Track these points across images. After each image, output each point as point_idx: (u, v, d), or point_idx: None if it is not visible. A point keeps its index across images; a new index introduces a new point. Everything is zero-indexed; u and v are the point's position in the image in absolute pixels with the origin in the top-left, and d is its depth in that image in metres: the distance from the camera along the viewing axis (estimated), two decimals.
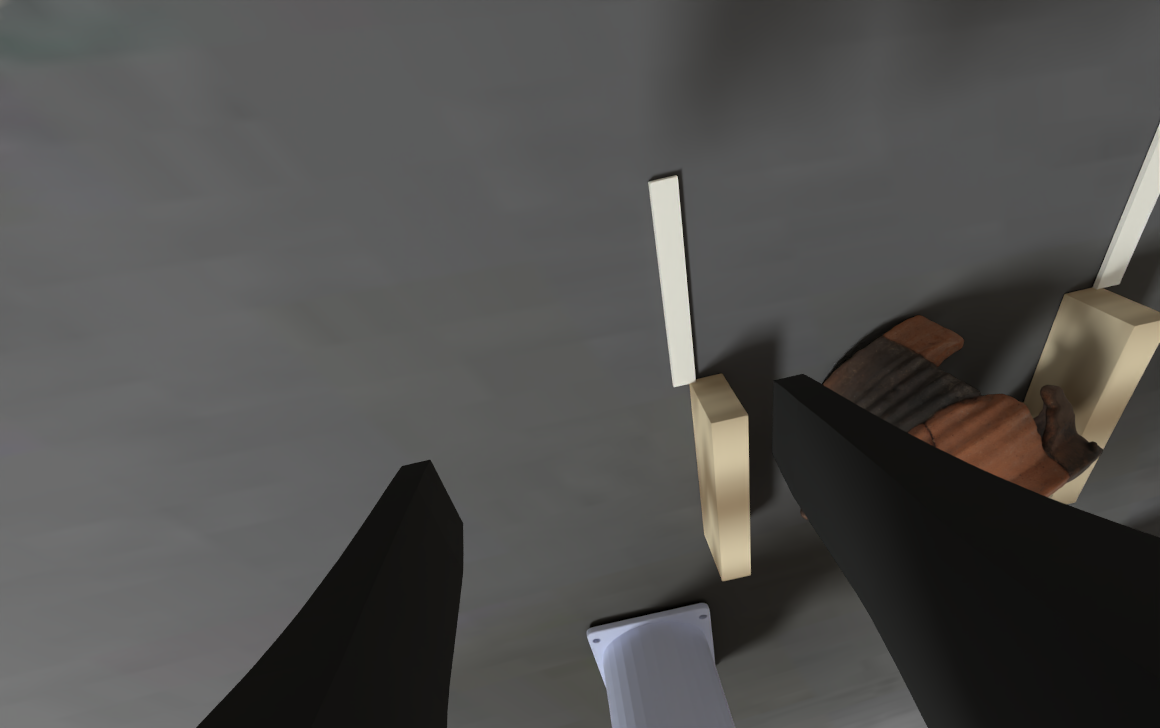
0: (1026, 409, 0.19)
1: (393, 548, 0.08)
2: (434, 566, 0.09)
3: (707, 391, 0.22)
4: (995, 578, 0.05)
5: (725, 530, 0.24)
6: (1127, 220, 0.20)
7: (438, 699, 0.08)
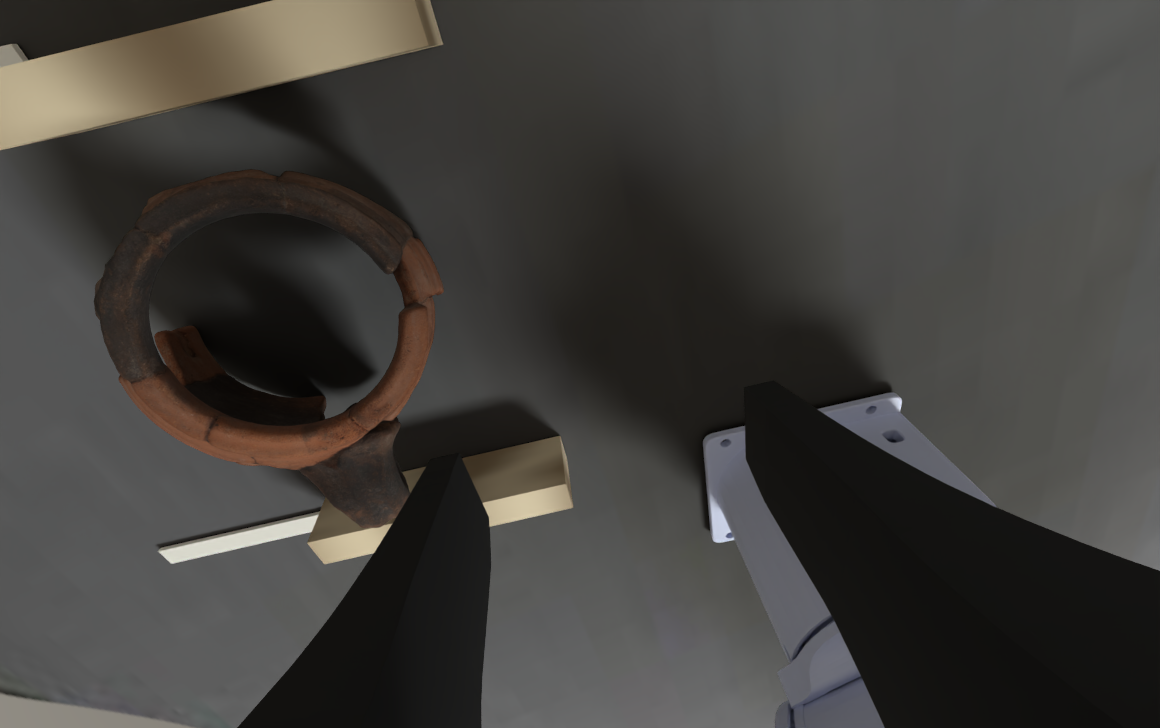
0: (120, 382, 0.14)
1: (430, 539, 0.08)
2: (466, 559, 0.09)
3: None
4: (940, 591, 0.05)
5: None
6: None
7: (472, 691, 0.08)
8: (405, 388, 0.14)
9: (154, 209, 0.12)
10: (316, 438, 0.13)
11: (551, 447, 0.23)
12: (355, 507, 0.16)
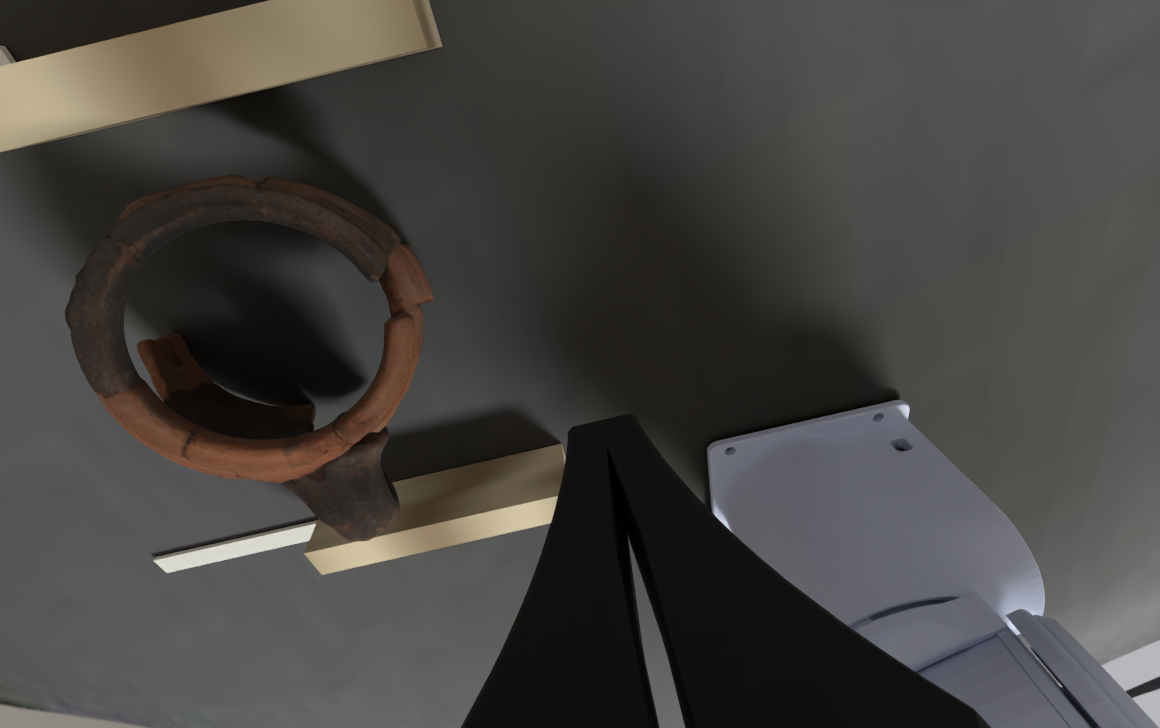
0: (97, 394, 0.13)
1: None
2: (621, 524, 0.09)
3: None
4: (673, 651, 0.05)
5: (477, 534, 0.21)
6: None
7: (642, 654, 0.08)
8: (391, 400, 0.14)
9: (127, 217, 0.11)
10: (298, 452, 0.13)
11: (553, 455, 0.22)
12: (342, 521, 0.16)
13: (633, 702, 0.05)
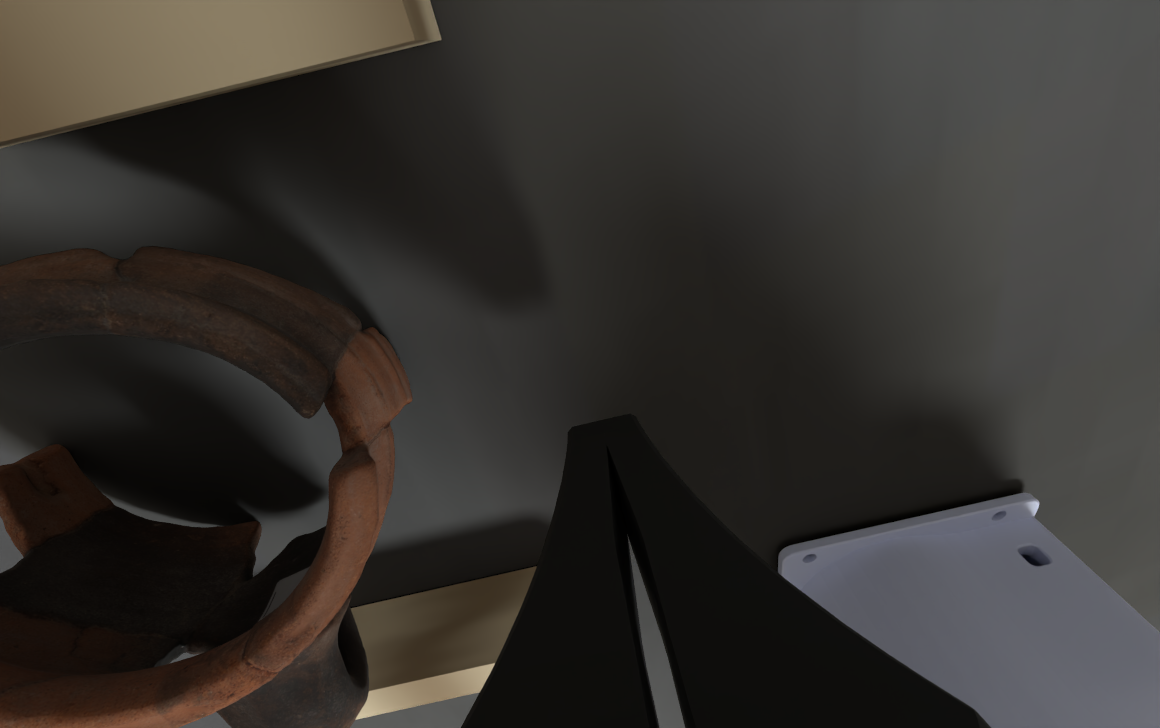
0: None
1: None
2: (621, 524, 0.09)
3: None
4: (673, 650, 0.05)
5: None
6: None
7: (642, 654, 0.08)
8: (340, 596, 0.09)
9: None
10: (183, 705, 0.08)
11: None
12: None
13: (633, 702, 0.05)
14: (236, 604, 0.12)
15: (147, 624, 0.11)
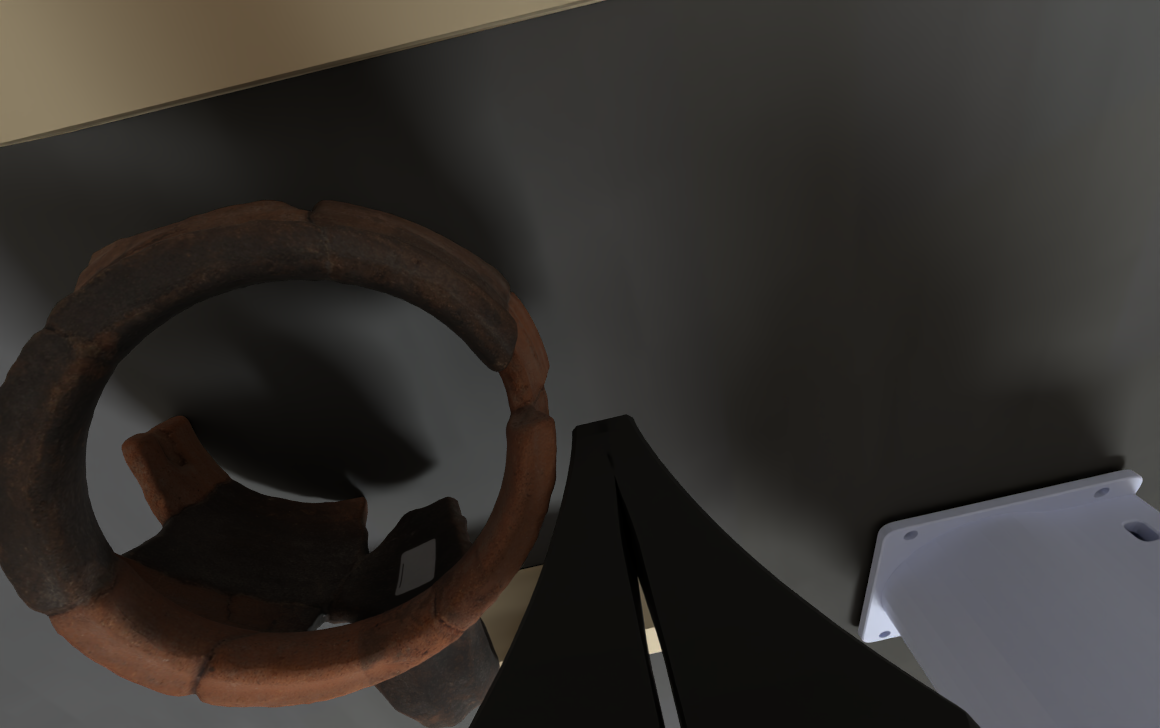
0: None
1: (615, 497, 0.08)
2: None
3: None
4: (667, 652, 0.05)
5: None
6: None
7: (647, 653, 0.08)
8: (522, 555, 0.09)
9: (84, 289, 0.06)
10: (383, 661, 0.08)
11: None
12: (429, 712, 0.10)
13: (643, 700, 0.05)
14: (365, 575, 0.12)
15: (287, 593, 0.11)
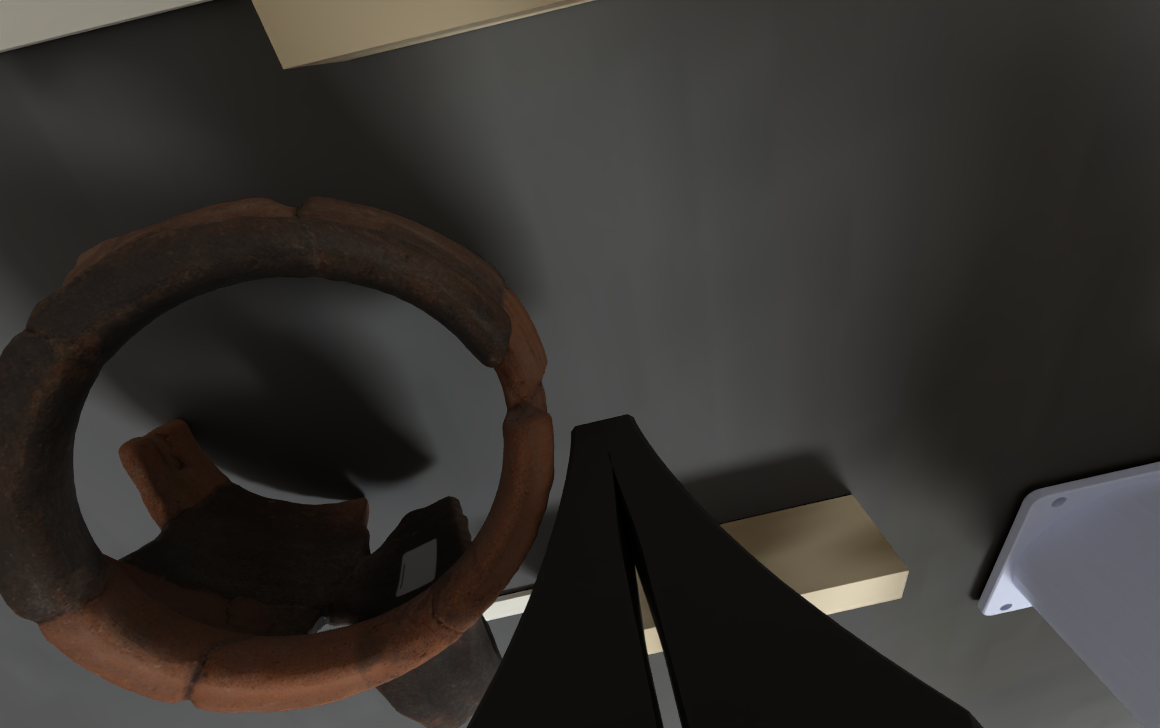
0: None
1: None
2: (624, 523, 0.09)
3: None
4: (668, 652, 0.05)
5: None
6: (123, 10, 0.08)
7: (647, 653, 0.08)
8: (521, 554, 0.09)
9: (65, 290, 0.06)
10: (381, 664, 0.08)
11: (850, 512, 0.17)
12: (432, 714, 0.10)
13: (640, 700, 0.05)
14: (366, 577, 0.12)
15: (287, 596, 0.11)
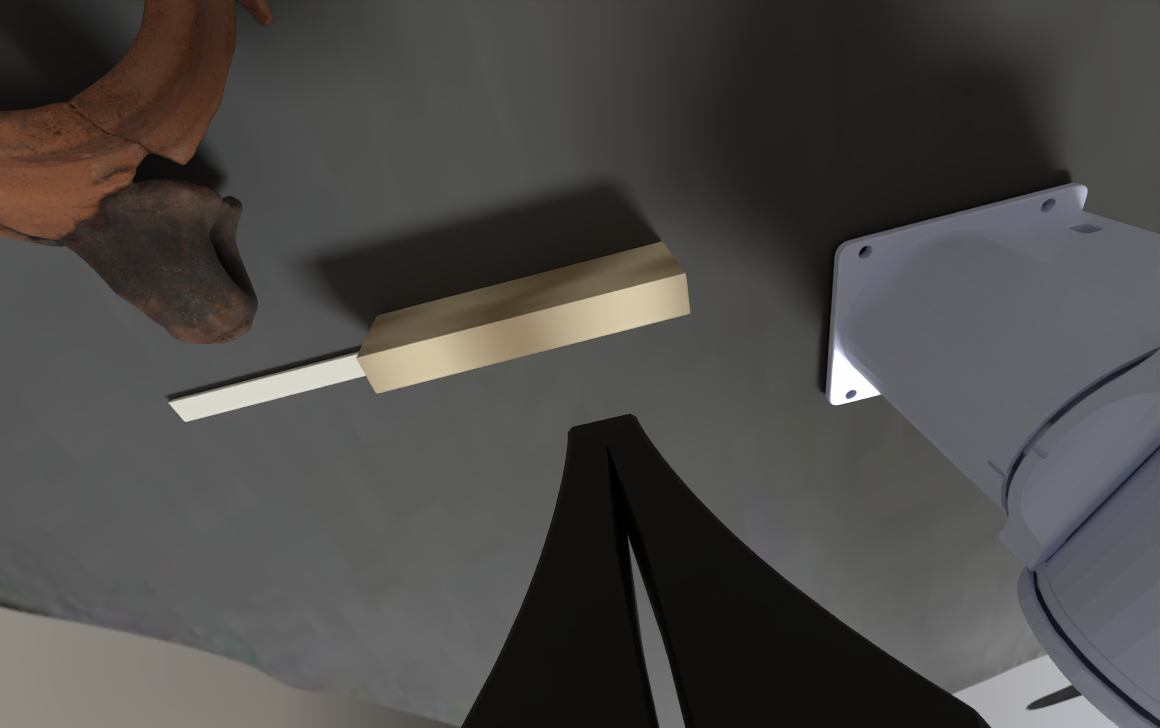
0: None
1: None
2: (621, 524, 0.09)
3: None
4: (673, 650, 0.05)
5: (569, 335, 0.17)
6: None
7: (642, 654, 0.08)
8: (162, 72, 0.10)
9: None
10: (9, 126, 0.09)
11: (654, 250, 0.18)
12: (144, 292, 0.11)
13: (633, 702, 0.05)
14: None
15: None
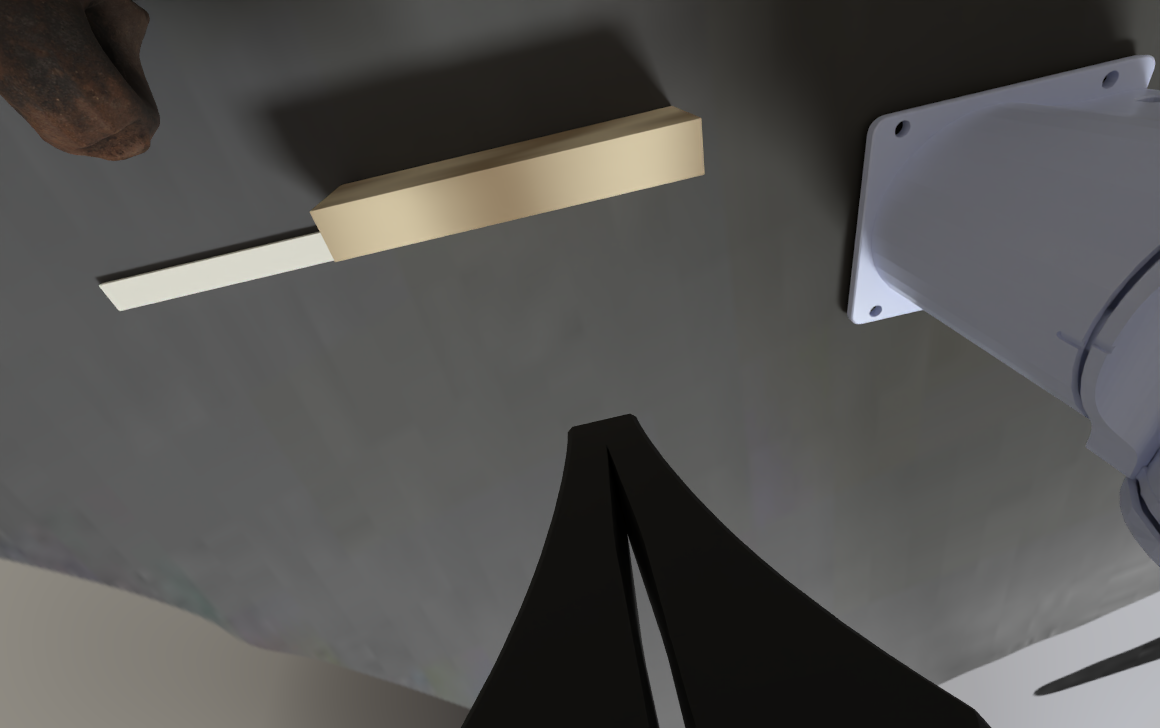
0: None
1: None
2: (621, 524, 0.09)
3: None
4: (673, 651, 0.05)
5: (563, 196, 0.14)
6: None
7: (642, 654, 0.08)
8: None
9: None
10: None
11: (663, 111, 0.16)
12: None
13: (633, 702, 0.05)
14: None
15: None
